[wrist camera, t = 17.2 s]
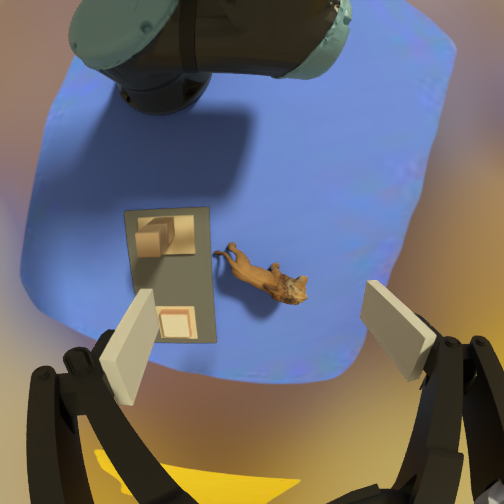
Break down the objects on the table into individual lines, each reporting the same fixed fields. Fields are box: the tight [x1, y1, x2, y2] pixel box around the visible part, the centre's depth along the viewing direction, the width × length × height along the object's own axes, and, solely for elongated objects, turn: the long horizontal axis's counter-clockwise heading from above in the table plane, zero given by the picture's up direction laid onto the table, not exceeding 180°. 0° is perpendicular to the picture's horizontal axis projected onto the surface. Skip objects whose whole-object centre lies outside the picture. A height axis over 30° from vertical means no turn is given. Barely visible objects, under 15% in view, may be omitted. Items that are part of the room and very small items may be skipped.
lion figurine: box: [214, 242, 308, 305], centre depth 42 cm, size 15×5×9 cm, turn 71°
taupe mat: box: [124, 207, 217, 343], centre depth 45 cm, size 25×14×1 cm, turn 0°
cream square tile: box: [160, 309, 192, 337], centre depth 47 cm, size 5×5×2 cm
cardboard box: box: [135, 215, 196, 257], centre depth 37 cm, size 6×9×11 cm, turn 90°
